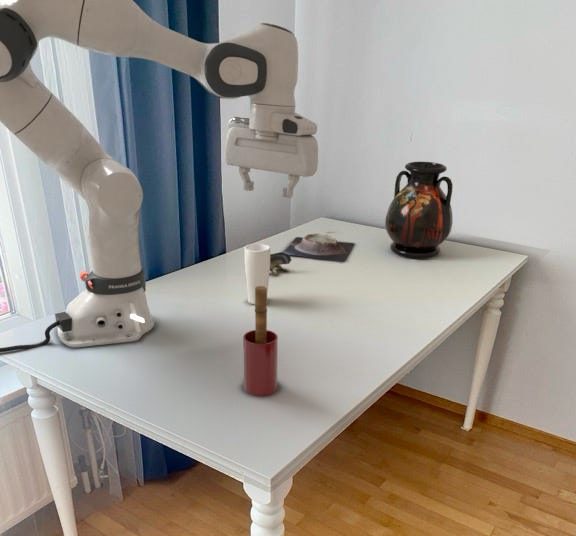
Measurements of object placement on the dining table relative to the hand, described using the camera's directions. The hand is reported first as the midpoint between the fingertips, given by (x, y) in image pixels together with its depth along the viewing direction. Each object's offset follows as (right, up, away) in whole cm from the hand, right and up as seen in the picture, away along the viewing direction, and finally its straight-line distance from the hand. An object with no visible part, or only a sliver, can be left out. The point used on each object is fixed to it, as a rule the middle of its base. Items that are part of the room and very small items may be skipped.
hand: (267, 193), depth 124 cm
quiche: (+14, +6, +78) cm, 79 cm away
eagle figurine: (0, -6, +57) cm, 58 cm away
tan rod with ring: (-1, -39, -1) cm, 40 cm away
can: (-1, -40, -1) cm, 40 cm away
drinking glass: (-4, -17, +38) cm, 42 cm away
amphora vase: (+47, +5, +77) cm, 90 cm away
